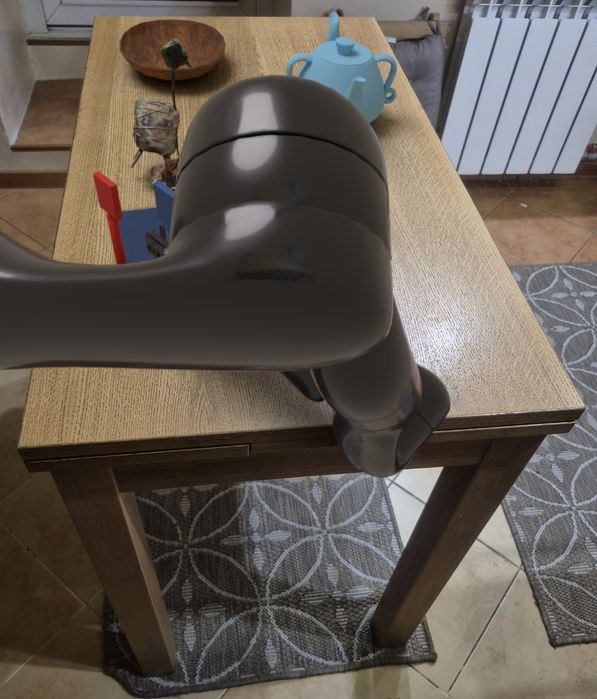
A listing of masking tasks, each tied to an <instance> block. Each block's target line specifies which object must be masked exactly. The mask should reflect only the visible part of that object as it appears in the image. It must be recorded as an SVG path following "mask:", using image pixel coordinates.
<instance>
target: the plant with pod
mask: <svg viewBox="0 0 597 699" xmlns="http://www.w3.org/2000/svg"><path fill="white" fill-rule="evenodd" d="M160 52H161V55H162V57H163V58H164V61H165V63H166V65H167V66H168V68H171V80H170V81H171V99H172V103H171V102H167V101H164V100H158V99H153V98H150V97H142V98H138V99H137V100H135V104H134V108H133V114H134V118H133V121H134V122H133V125H132V130H133V132H132V138H133V141H134V143H135V146H136V148H138V150H137V151H136V153H135V155H134V156H133V160H132V162H131V163H130V166H129V167H130V169H133V168H134V167H135V165H136V164H137V162H138V161H139V159H140V157H141V156H142V155H143V152H146V153H148V154H149V153H151V154H152V153H153V154H157V155H160V156H161V157H162V158H163V160H164V161H163V163H157V164H155V165H153V166H152V165H151V167H150V169H149V172H150V177H151V179H150V184H151V185H150V186H151V188H153V189H154V185H153V184H154V183H155V182H157V181H160V182H162V183H163V184H165V185H166V186H167V187H169V188H170V189H172V190H173V189H174V190H175V182H176V175H177V168H178V162H179V158H180V151H179V150H180V149H179V140H178V138H179V136H178V133H179V126H180V124H181V120H180V119H181V118H180V111H179V109H178V107H177V102H176V91H175V90H176V89H175V88H176V87H175V83H176V80H175V70H176V69H178V68H179V67H180V66H183V64H185V65H187V66H188V67H189V68H192V66H191V65H190V63H189V62H188V59H189V57H188V54H187V52H186V50H185V49H184V48H183V45H182V44H181V43H180V42H179V40H177V39H174V40H173V41H171V42H169V43H167V44H165V45H164V46H163V47H162V48H161V51H160ZM138 95H139V93H136V94H135V96H138ZM175 153H176V154H177V158H171V156H172V155H174V154H175Z"/></svg>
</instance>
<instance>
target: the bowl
mask: <svg viewBox="0 0 597 699" xmlns="http://www.w3.org/2000/svg"><path fill="white" fill-rule="evenodd" d="M224 37H225V36H224V35H223V34H222V33H220V31H219V30H217V28H216V27H214V26H211V25H209V24H207V23H204V22H199V21H194V20H188V19H187V20H186V19H154V20H148V21H142V22H138V23H137V24H135V25H133V26H131V27H129V28H128V29H127V30H126V31H125V32H123V33H122V36H121V37H120V40H119V42H118V44H119V45H118V46H119V48H118V49H119V52H120V54H121V55H122V57H123V58H124V59H125V60H126V62H127V63H128V64H129V65H130V66H131V67H132V68H133V69H134V70H136V71H138V72H140V73H141V74H143V75H145V76H147V77H151V78H156V79H159V80H163V81H172V80H171V68H168V66H167V65H166V63H165V61H164V58H163V57H162V55H161V52H160V51H161V48H162V47H163V46H164V45H165V44H167V43H169V42H171V41H173V40H174V39H177V40H179V42H180V43H181V44H182V45H183V48H184V49H185V50H186V52H187V54H188V57H189V59H188V62H189V63H190V65H191V66H192V68H189V67H188V66H187V65H185V64H183V66H180V67H179V68H178V69H176V70H175V81H182V80H189V79H194V78H199V77H201V76H203V75H205V74H206V73H209V72H211V71H212V69H214V67H215V66H216V65H217V64H218V63H219V62H220V61H221V60H222V59H223V56H224V54H225V50H226V46H227V44H226V41H225V40H226V39H225V38H224Z"/></svg>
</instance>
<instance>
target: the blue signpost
mask: <svg viewBox="0 0 597 699" xmlns="http://www.w3.org/2000/svg"><path fill="white" fill-rule="evenodd" d="M152 184H153V183H152ZM153 185H154V188H153V192H154V200H155V208H156V209H157V217H158V219H159V220H160V221H162V222H163V223H164V224H166V225H165V232H166V241H167V242H168V243H169V234H170V226H171V217H172V208H173V200H174V191H175V190H173V189H170V188H169V187H167V186H166V185H165V184H163V183H162V182H160V181H157V182H155V183H154V184H153Z"/></svg>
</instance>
